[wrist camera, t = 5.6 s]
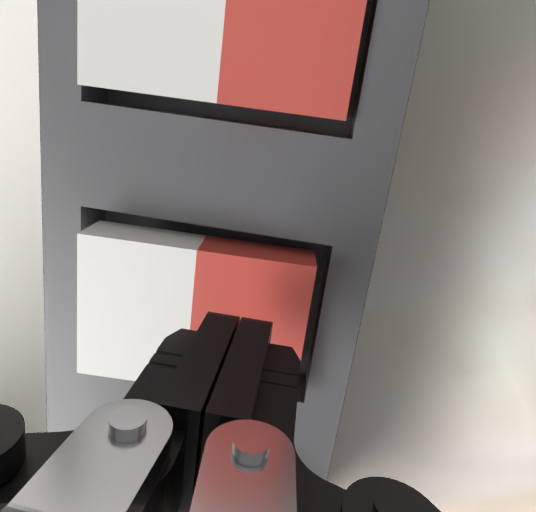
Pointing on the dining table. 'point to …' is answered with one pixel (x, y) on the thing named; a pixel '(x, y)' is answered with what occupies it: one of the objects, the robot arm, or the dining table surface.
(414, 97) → the dining table surface
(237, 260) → the middle rocker
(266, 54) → the block
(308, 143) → the power strip
